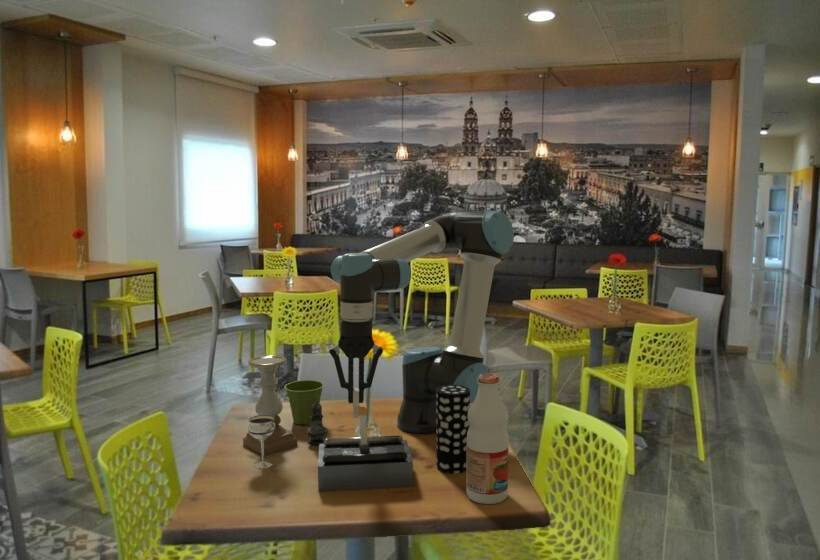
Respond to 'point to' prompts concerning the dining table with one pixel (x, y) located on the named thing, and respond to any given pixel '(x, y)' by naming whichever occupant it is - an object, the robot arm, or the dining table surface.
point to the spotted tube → (452, 428)
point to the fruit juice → (487, 444)
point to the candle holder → (269, 407)
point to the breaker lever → (363, 429)
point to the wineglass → (262, 434)
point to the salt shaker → (316, 426)
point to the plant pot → (303, 399)
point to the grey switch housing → (364, 464)
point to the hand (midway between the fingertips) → (355, 415)
